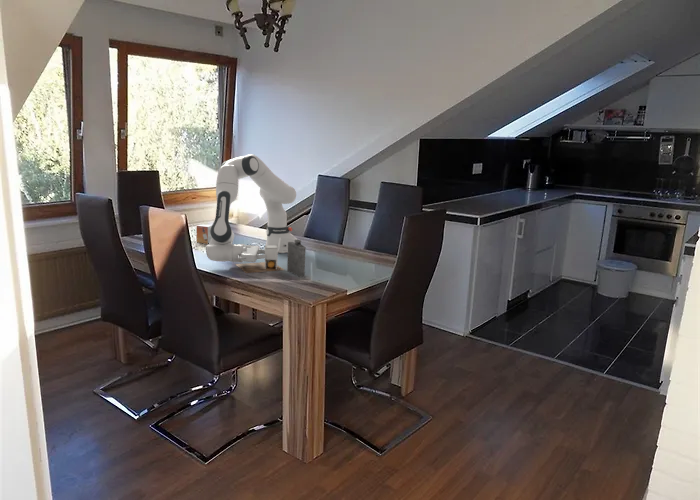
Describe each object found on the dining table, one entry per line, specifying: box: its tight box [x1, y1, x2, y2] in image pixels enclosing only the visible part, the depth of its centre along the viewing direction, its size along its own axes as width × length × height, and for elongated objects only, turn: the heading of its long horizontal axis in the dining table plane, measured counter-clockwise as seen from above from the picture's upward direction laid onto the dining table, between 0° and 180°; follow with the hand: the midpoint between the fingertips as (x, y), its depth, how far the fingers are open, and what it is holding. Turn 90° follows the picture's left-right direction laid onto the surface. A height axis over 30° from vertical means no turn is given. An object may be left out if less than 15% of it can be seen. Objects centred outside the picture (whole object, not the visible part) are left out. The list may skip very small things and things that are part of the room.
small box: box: [195, 224, 212, 245], centre depth 328 cm, size 8×6×10 cm
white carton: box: [264, 244, 279, 269], centre depth 273 cm, size 6×6×11 cm
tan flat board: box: [234, 261, 285, 274], centre depth 275 cm, size 20×18×1 cm
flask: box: [286, 239, 306, 278], centre depth 264 cm, size 4×14×18 cm, turn 35°
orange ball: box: [268, 261, 275, 268], centre depth 274 cm, size 4×4×4 cm
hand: (267, 254), depth 273 cm, fingers open, 8 cm apart
